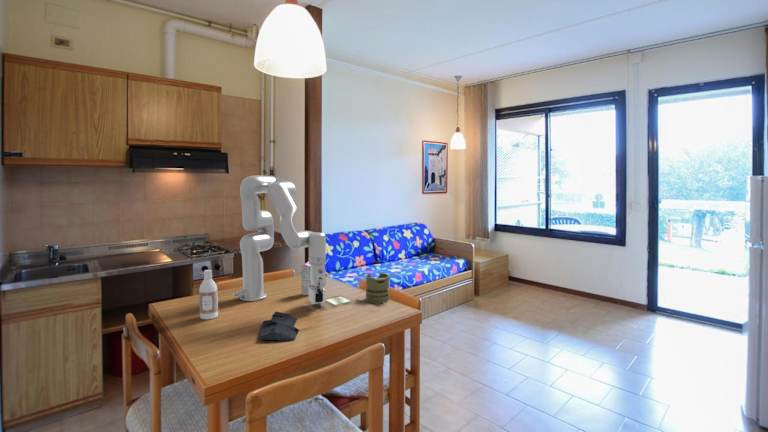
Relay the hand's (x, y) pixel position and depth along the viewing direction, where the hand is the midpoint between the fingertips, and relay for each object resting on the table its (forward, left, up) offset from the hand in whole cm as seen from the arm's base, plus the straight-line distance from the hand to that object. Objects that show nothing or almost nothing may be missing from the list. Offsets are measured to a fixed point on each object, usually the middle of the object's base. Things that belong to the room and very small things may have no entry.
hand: (317, 299), depth 175 cm
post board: (+6, 0, -4) cm, 8 cm away
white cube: (0, 0, -1) cm, 1 cm away
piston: (+30, -6, -5) cm, 31 cm away
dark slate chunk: (-24, -13, -5) cm, 28 cm away
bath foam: (-41, +19, -5) cm, 45 cm away
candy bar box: (+8, +21, -5) cm, 23 cm away
